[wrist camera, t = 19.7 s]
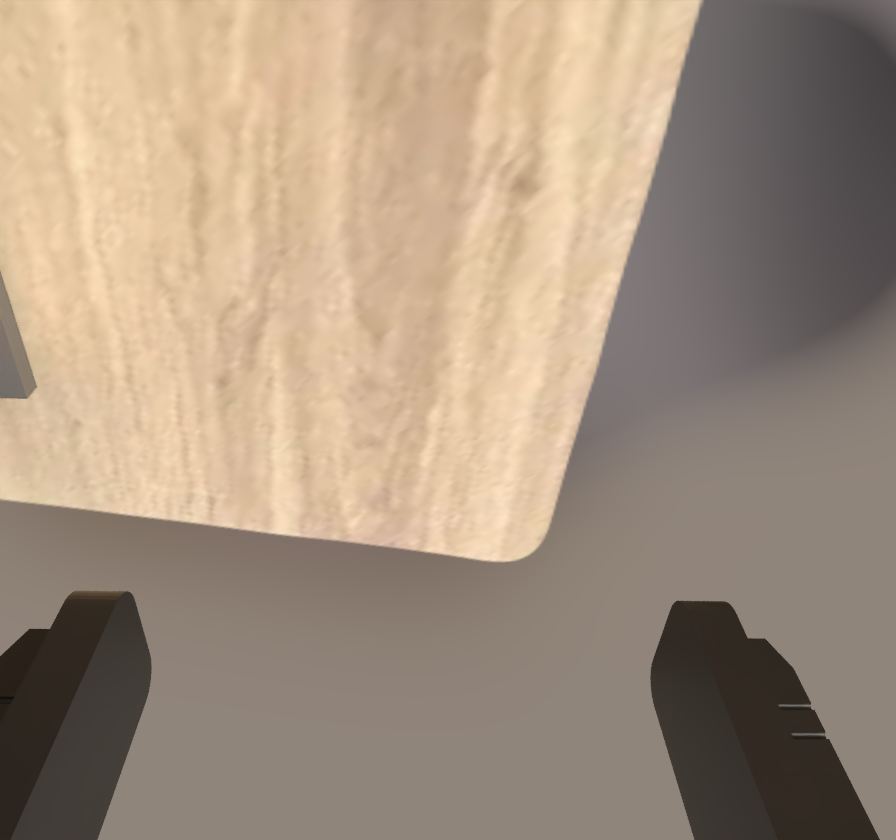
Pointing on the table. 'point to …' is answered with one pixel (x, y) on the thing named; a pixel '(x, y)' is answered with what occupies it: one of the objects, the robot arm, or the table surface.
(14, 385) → the box
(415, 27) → the table surface
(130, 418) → the table surface
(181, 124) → the table surface
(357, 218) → the table surface
